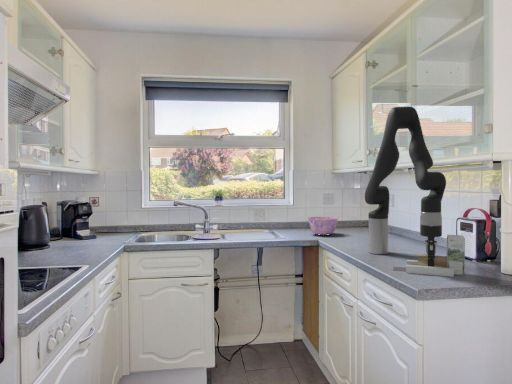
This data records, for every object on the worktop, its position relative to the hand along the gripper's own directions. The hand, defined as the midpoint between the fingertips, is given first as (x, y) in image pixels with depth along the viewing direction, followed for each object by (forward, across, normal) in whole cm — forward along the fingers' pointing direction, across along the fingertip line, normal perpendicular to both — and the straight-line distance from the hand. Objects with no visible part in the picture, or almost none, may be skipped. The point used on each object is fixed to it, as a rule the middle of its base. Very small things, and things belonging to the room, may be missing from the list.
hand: (430, 268), depth 140 cm
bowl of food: (+3, -87, -64) cm, 108 cm away
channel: (+2, 0, -3) cm, 4 cm away
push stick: (+1, 0, 0) cm, 1 cm away
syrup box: (+2, 0, +8) cm, 8 cm away
